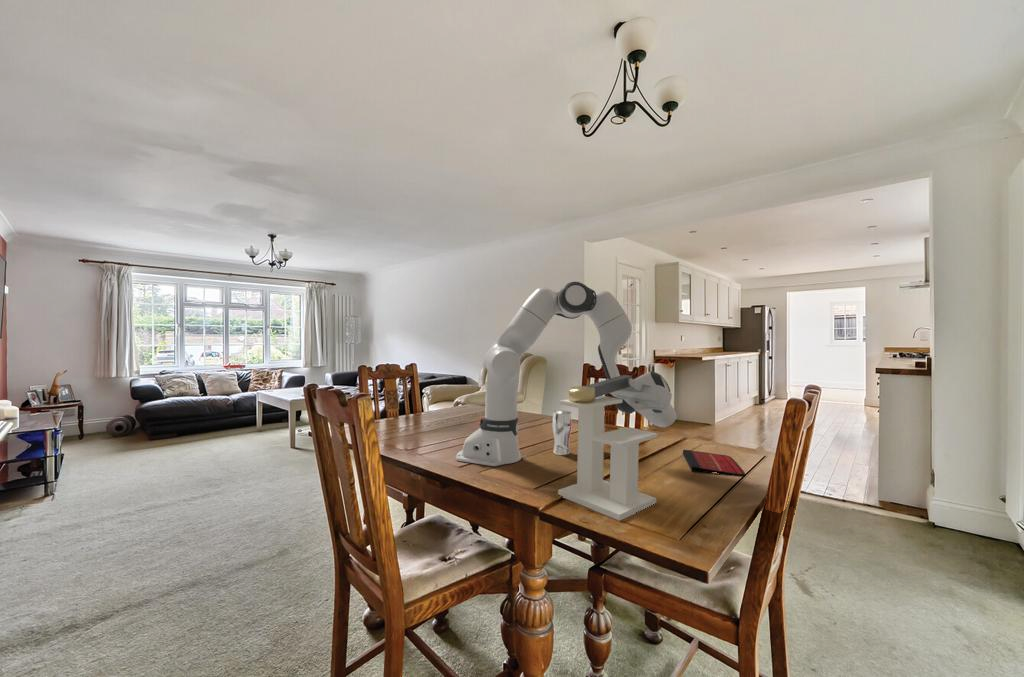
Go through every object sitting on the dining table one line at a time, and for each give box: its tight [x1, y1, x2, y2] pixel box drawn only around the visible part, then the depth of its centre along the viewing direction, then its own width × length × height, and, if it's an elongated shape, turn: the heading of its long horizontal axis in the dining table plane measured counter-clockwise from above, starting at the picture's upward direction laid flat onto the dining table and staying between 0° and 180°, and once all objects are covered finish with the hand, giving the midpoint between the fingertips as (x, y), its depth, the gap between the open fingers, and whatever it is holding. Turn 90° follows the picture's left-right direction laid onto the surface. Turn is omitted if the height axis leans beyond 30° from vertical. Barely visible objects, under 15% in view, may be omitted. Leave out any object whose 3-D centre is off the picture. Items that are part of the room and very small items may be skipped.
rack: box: [557, 395, 659, 522], centre depth 116 cm, size 16×20×26 cm
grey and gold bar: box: [568, 374, 633, 403], centre depth 123 cm, size 24×7×3 cm, turn 130°
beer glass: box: [552, 409, 573, 456], centre depth 158 cm, size 7×7×15 cm
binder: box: [682, 449, 745, 477], centre depth 147 cm, size 16×2×21 cm
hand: (622, 379), depth 129 cm, fingers closed on grey and gold bar, 3 cm apart
